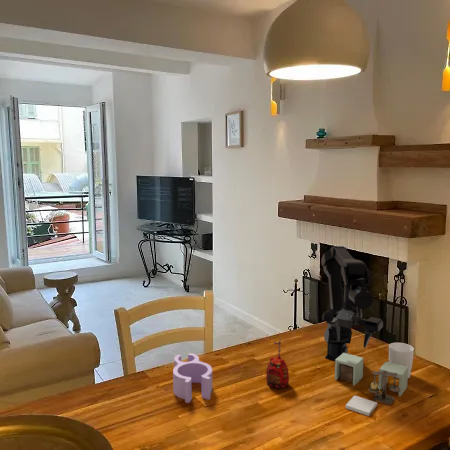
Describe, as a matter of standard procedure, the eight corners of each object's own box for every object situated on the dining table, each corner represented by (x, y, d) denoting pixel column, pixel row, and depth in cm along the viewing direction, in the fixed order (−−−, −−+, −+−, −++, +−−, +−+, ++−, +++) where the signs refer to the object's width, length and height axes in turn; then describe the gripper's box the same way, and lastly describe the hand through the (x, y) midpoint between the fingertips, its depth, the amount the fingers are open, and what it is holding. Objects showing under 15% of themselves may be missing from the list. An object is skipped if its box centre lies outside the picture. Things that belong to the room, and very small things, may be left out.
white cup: (408, 370, 159) (409, 342, 157) (415, 380, 151) (417, 352, 149) (385, 369, 159) (386, 342, 158) (390, 379, 152) (392, 351, 150)
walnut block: (340, 379, 152) (341, 365, 152) (345, 374, 155) (345, 360, 155) (352, 382, 150) (352, 368, 149) (356, 377, 153) (357, 363, 152)
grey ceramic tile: (345, 408, 134) (345, 405, 134) (354, 398, 140) (354, 395, 139) (368, 416, 130) (368, 412, 130) (377, 405, 135) (377, 402, 135)
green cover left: (334, 379, 152) (335, 359, 151) (342, 371, 157) (343, 352, 156) (354, 385, 148) (355, 365, 147) (362, 377, 153) (363, 357, 152)
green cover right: (378, 389, 145) (379, 368, 144) (385, 381, 151) (386, 361, 150) (400, 396, 141) (401, 375, 140) (407, 387, 146) (408, 366, 145)
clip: (166, 375, 155) (166, 356, 154) (201, 370, 159) (201, 351, 158) (178, 405, 136) (178, 383, 135) (218, 398, 140) (217, 377, 139)
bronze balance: (366, 397, 140) (368, 368, 139) (370, 393, 143) (372, 364, 142) (397, 407, 135) (398, 376, 133) (400, 402, 137) (402, 372, 136)
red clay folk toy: (262, 386, 147) (263, 342, 145) (270, 377, 153) (271, 335, 151) (285, 391, 144) (285, 346, 142) (292, 382, 150) (293, 339, 148)
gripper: (316, 300, 148) (314, 345, 150) (373, 311, 137) (371, 360, 139) (329, 292, 157) (328, 335, 159) (384, 302, 146) (382, 348, 148)
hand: (351, 344), depth 151 cm, fingers open, 9 cm apart
